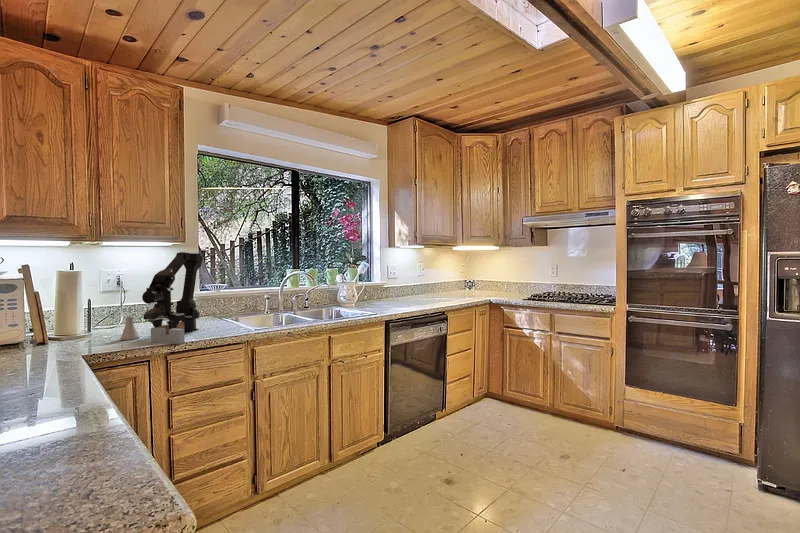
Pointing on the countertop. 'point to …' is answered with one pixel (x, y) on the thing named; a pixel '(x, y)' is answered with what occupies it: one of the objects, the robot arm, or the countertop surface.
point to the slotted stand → (160, 335)
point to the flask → (129, 330)
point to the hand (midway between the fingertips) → (164, 335)
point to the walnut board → (179, 326)
